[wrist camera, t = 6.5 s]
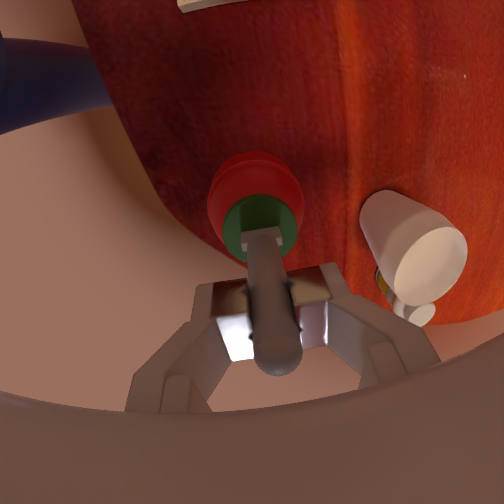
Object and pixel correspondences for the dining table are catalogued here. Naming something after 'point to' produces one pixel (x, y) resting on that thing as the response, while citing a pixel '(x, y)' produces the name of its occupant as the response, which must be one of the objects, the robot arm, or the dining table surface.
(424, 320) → the supplement bottle
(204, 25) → the dining table surface
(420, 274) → the cup
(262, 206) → the red maraca
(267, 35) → the dining table surface
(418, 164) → the dining table surface
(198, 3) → the tray
